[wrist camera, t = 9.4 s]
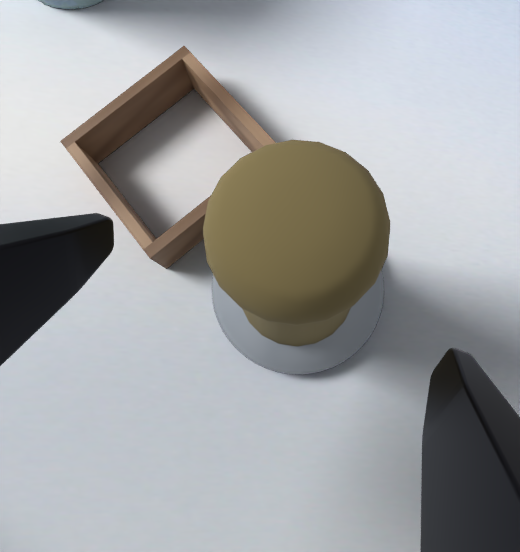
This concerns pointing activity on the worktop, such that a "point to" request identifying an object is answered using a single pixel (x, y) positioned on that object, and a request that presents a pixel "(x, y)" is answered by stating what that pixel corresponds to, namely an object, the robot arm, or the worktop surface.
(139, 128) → the frame
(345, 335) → the coaster
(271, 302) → the cork
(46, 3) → the green cup
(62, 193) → the worktop surface
